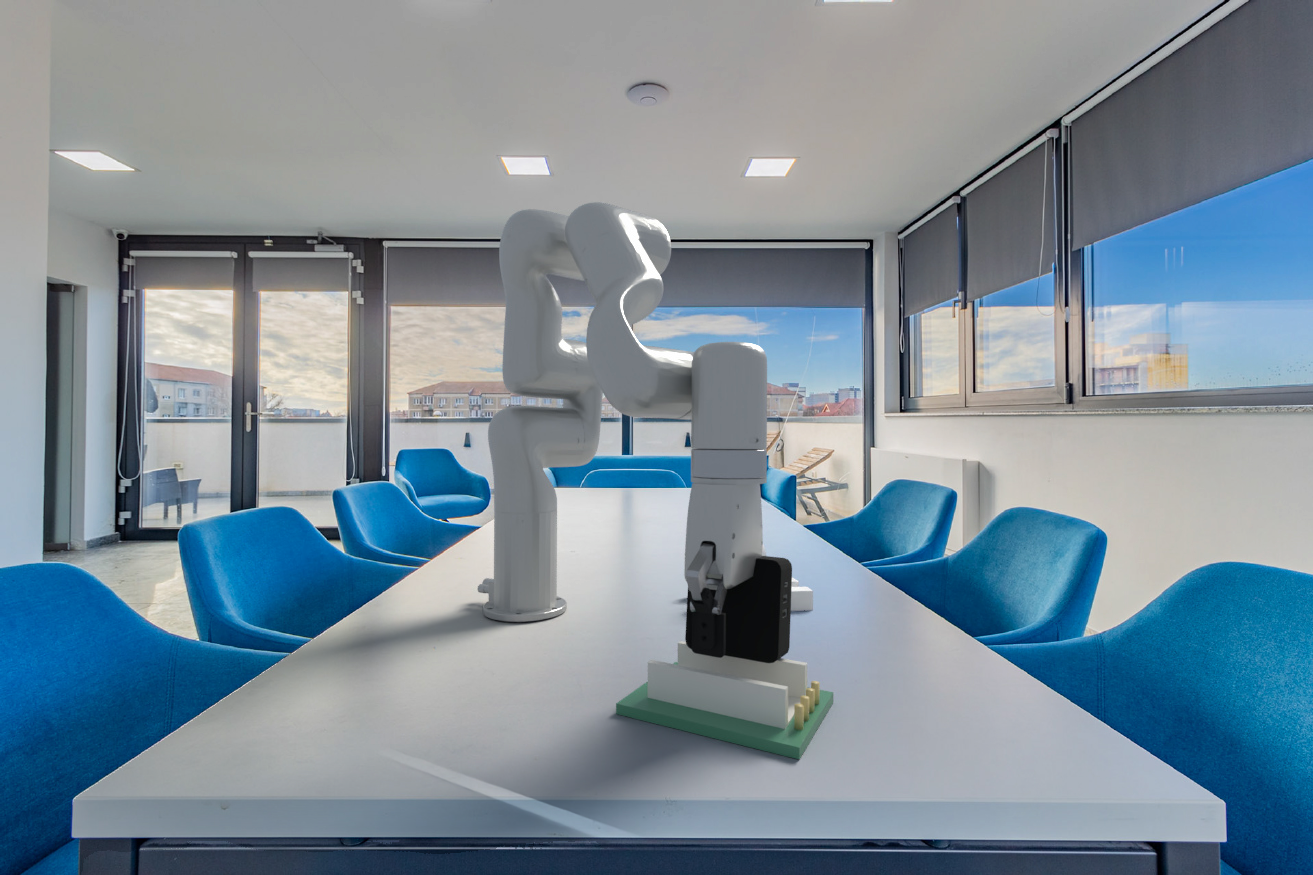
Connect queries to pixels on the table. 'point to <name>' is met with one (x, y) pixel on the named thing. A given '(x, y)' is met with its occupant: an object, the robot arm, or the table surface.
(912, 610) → the table surface
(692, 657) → the board
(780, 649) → the electronic device
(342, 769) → the table surface
